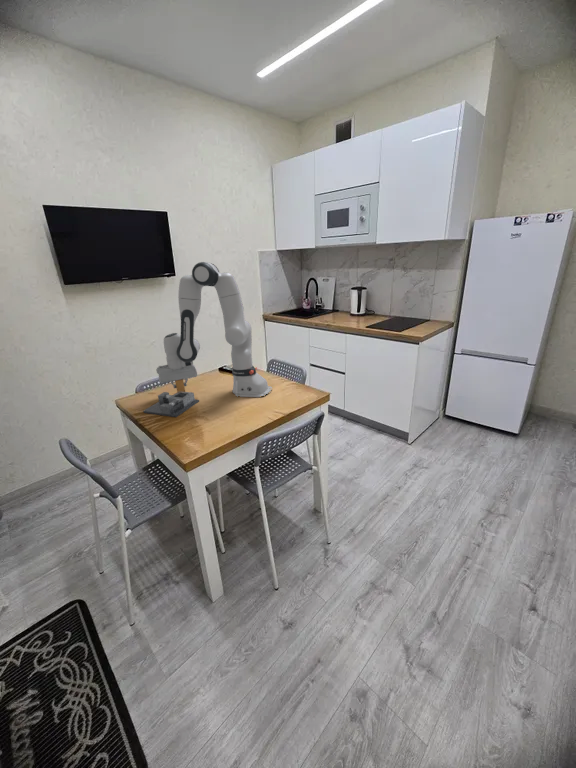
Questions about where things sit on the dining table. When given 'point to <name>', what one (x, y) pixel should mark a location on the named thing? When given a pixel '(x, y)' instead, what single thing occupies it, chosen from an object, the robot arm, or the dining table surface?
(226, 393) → the dining table surface
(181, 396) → the coupling frame
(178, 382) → the orange brown rectangular block
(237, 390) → the robot arm
